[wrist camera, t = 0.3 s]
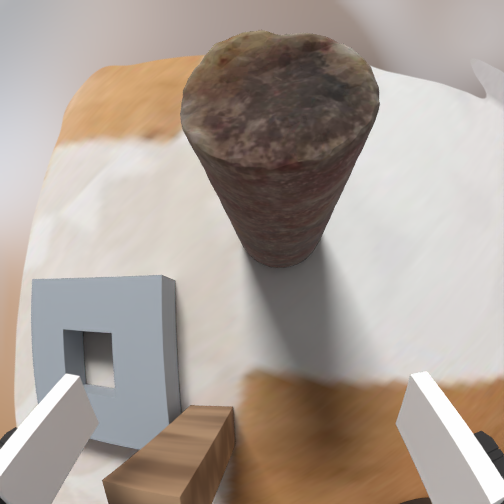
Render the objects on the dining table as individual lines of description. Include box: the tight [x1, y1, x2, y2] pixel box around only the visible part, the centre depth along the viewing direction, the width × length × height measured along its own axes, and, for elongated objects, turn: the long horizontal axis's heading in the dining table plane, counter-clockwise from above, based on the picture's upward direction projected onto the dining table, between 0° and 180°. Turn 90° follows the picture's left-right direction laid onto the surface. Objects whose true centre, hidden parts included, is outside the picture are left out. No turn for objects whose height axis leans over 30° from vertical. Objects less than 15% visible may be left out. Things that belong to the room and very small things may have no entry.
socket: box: [31, 275, 181, 450], centre depth 25 cm, size 16×16×4 cm
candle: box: [180, 30, 380, 268], centre depth 18 cm, size 8×7×20 cm
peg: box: [102, 405, 235, 504], centre depth 17 cm, size 4×4×16 cm
